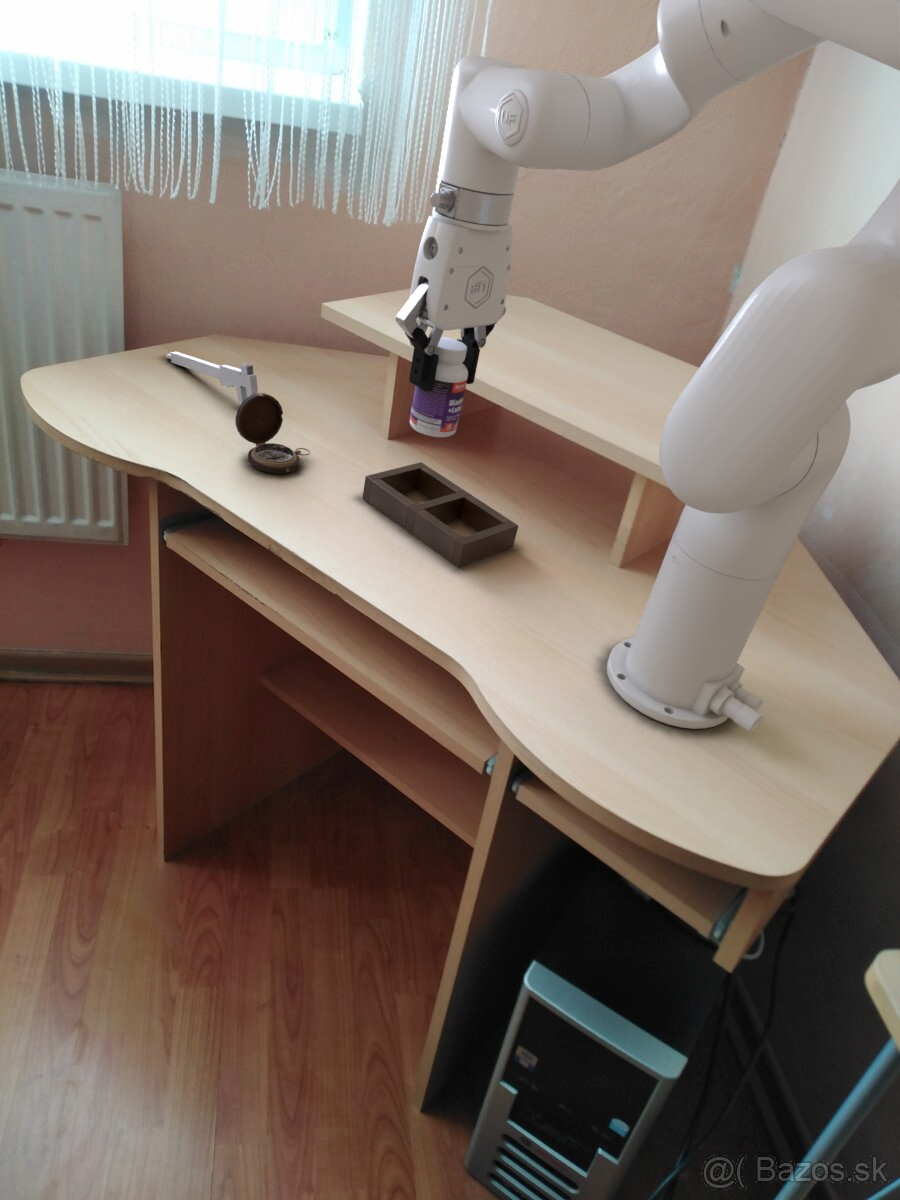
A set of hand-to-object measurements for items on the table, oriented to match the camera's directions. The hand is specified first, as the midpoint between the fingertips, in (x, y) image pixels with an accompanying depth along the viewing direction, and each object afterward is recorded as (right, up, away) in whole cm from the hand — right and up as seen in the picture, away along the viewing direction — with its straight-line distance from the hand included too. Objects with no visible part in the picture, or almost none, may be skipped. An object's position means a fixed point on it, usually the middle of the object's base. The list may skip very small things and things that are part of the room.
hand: (441, 381), depth 96 cm
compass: (-20, -7, +13) cm, 25 cm away
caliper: (-32, +6, +27) cm, 43 cm away
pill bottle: (-1, -5, +3) cm, 6 cm away
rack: (-1, -15, +7) cm, 16 cm away
